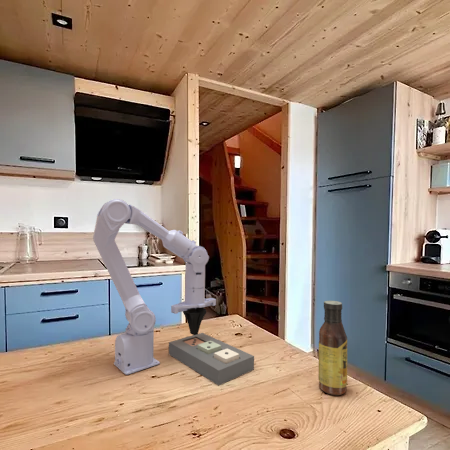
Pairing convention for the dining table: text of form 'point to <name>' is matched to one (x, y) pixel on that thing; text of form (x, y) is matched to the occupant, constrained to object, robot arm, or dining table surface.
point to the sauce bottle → (332, 351)
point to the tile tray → (211, 359)
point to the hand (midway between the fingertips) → (194, 333)
